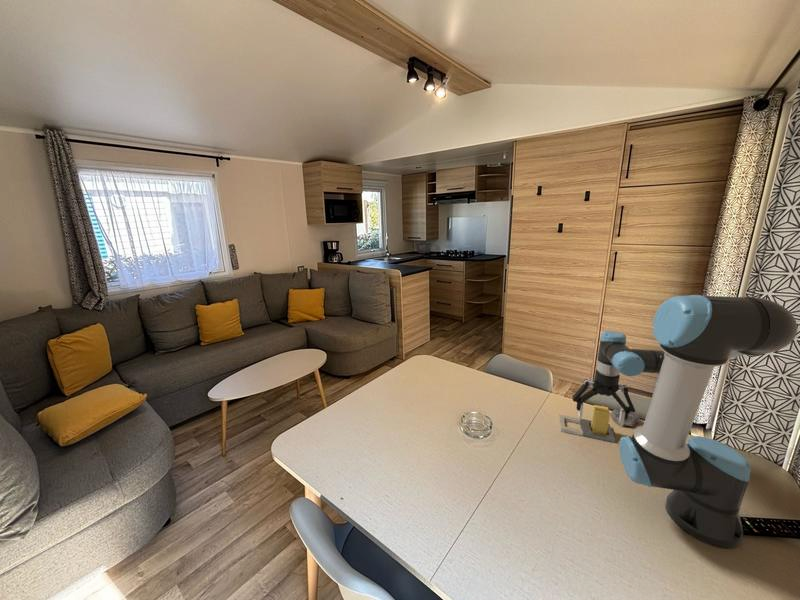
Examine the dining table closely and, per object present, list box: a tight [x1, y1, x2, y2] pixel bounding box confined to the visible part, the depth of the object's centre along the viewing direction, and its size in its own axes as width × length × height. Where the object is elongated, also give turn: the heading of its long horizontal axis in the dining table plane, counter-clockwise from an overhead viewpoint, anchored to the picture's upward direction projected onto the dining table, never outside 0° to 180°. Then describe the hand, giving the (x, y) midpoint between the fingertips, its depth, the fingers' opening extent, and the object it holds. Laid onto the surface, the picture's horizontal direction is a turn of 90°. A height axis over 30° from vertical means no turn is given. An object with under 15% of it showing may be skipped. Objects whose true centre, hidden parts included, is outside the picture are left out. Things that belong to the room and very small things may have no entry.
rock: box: [610, 407, 640, 427], centre depth 128 cm, size 9×11×4 cm
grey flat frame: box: [558, 414, 616, 443], centre depth 124 cm, size 10×18×1 cm, turn 67°
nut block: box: [590, 404, 611, 435], centre depth 121 cm, size 4×4×10 cm
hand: (599, 421), depth 121 cm, fingers open, 13 cm apart
